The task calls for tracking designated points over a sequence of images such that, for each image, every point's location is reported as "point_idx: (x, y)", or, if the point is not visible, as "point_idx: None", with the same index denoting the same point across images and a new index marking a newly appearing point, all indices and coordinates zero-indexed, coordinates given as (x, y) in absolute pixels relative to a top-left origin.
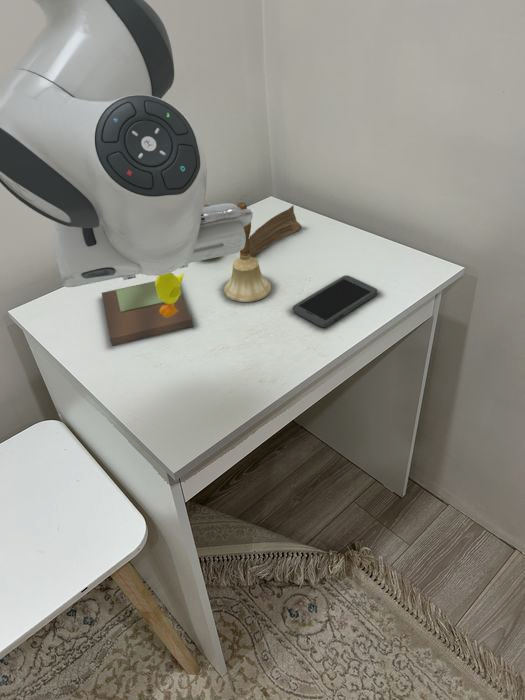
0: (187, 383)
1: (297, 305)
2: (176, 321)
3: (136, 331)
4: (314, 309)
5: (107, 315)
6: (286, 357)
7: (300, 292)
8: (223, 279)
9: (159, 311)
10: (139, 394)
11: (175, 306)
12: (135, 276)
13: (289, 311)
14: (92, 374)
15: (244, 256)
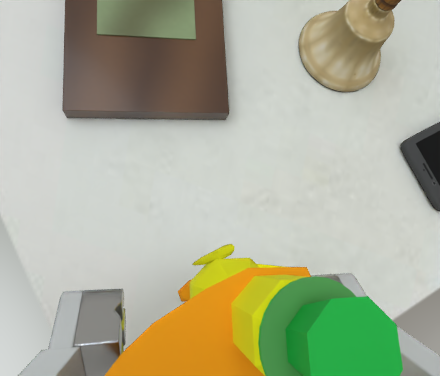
0: (189, 276)
1: (413, 141)
2: (200, 109)
3: (119, 109)
4: (438, 164)
5: (68, 33)
6: (364, 264)
7: (421, 98)
8: (303, 3)
9: (179, 294)
10: (98, 278)
11: (206, 61)
12: (124, 342)
13: (393, 143)
14: (16, 189)
15: (381, 10)
